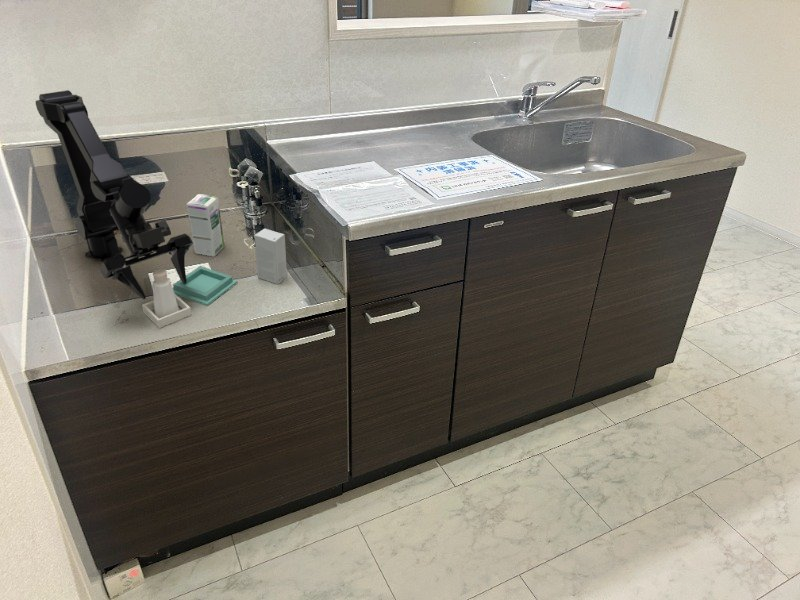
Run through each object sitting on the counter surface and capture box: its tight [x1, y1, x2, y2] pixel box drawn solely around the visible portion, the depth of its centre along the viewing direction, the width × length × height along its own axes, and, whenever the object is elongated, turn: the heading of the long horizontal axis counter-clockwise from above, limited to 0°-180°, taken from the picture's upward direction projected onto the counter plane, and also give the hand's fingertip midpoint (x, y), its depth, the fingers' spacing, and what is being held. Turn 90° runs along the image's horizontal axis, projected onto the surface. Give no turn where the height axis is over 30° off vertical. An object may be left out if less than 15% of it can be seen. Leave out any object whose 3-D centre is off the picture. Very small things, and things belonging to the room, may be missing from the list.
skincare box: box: [253, 228, 288, 285], centre depth 145 cm, size 6×4×12 cm
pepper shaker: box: [152, 268, 180, 318], centre depth 131 cm, size 5×5×11 cm
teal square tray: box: [172, 265, 238, 307], centre depth 142 cm, size 11×11×2 cm
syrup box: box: [186, 193, 225, 258], centre depth 153 cm, size 6×6×14 cm
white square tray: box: [141, 293, 192, 329], centre depth 133 cm, size 8×8×2 cm
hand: (165, 291), depth 129 cm, fingers open, 9 cm apart
